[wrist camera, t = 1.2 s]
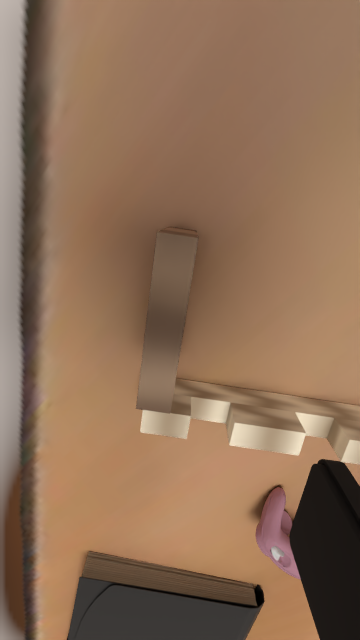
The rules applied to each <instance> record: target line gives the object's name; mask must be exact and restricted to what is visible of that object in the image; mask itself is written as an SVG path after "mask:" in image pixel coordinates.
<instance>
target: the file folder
mask: <svg viewBox="0 0 360 640" xmlns="http://www.w3.org/2000/svg"><path fill="white" fill-rule="evenodd" d="M263 604H264V594H263V590H262V589H261V588H260V586H259V585H258V584H257V587H256V589H255V591H254V589H253V584H251V583H247V582H240V581H234V580H229V579H224V578H219V577H214V576H210V575H205V574H200V573H195V572H190V571H186V570H181V569H176V568H172V567H167V566H162V565H158V564H152V563H147V562H142V561H137V560H131V559H126V558H121V557H116V556H110V555H105V554H100V553H95V552H89V553H88V557H87V560H86V563H85V567H84V570H83V574H82V577H80V578H79V583H78V588H77V594H76V599H75V604H74V609H73V614H72V620H71V625H70V630H69V634H68V638H67V640H245V639H246V637H247V635H248V633H249V631H250V629H251V627H252V625H253V623H254V622H255V620H256V618H257V616H258V614H259V612H260V610H261V608H262V606H263Z"/></svg>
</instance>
